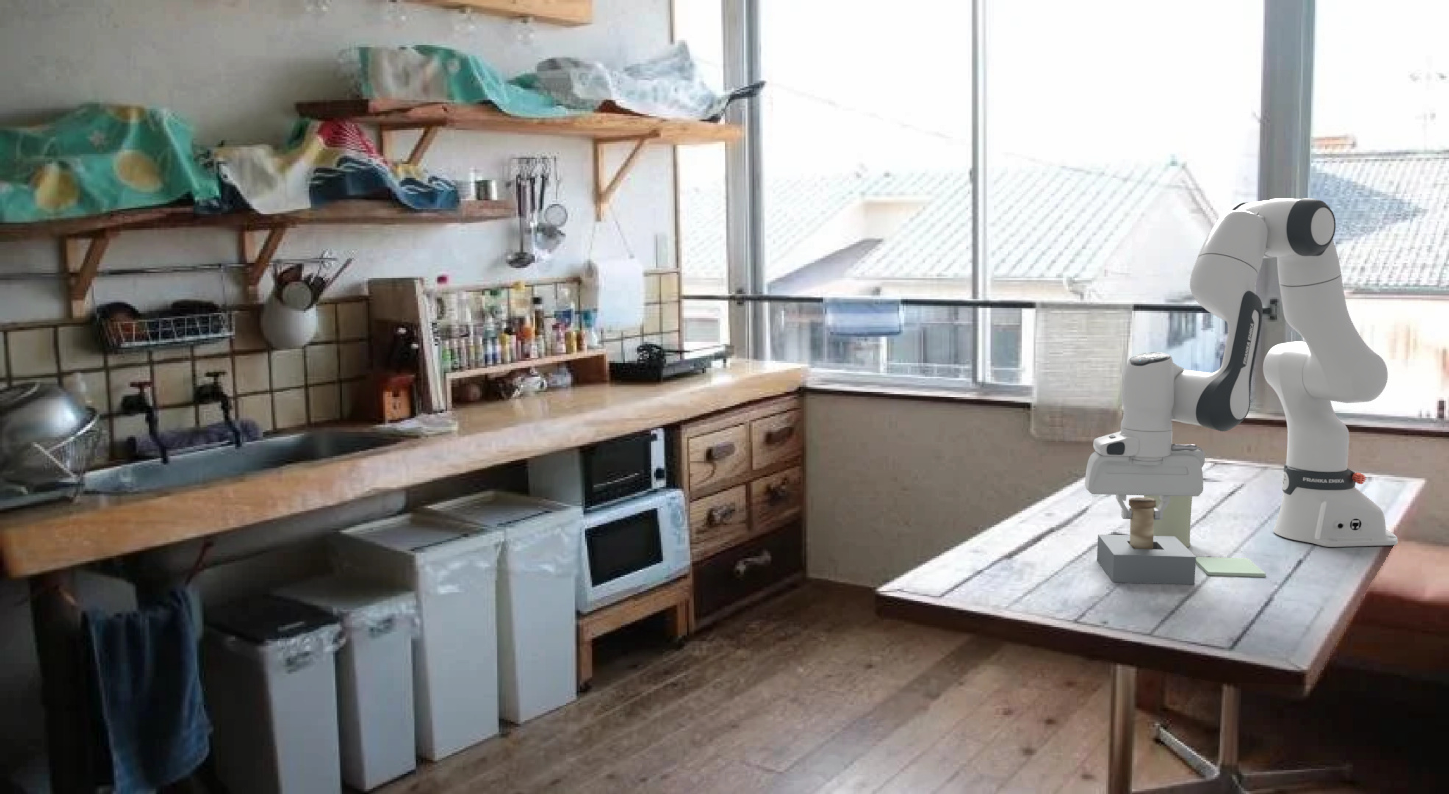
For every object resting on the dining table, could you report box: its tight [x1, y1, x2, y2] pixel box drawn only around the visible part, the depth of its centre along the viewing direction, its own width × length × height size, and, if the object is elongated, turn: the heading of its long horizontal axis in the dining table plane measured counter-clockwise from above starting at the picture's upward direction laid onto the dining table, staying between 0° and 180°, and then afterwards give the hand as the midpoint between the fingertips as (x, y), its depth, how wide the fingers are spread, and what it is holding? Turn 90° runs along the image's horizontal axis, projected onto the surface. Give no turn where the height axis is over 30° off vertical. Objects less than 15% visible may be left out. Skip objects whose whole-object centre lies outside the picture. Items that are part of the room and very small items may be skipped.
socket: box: [1096, 534, 1197, 585], centre depth 222 cm, size 14×14×5 cm
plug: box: [1128, 496, 1156, 549], centre depth 221 cm, size 5×5×12 cm
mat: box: [1196, 556, 1267, 578], centre depth 224 cm, size 10×10×1 cm
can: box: [1143, 495, 1193, 549], centre depth 241 cm, size 9×9×12 cm
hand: (1141, 518), depth 221 cm, fingers closed on plug, 4 cm apart
